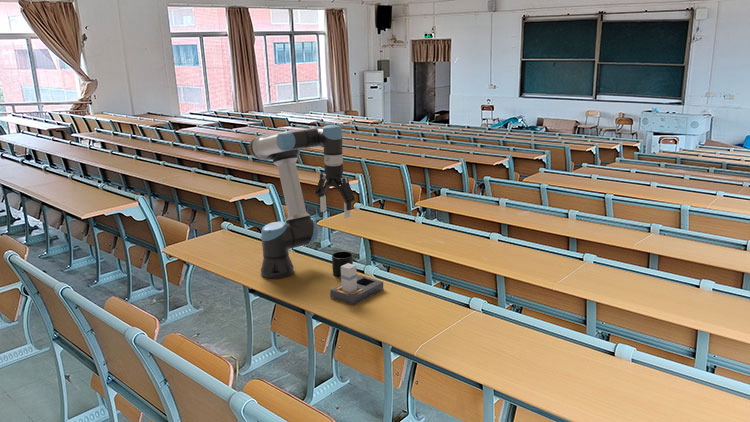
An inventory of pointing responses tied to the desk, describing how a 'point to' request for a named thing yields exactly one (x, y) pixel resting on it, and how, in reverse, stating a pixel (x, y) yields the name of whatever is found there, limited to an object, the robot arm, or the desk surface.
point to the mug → (340, 261)
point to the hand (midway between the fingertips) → (335, 214)
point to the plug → (349, 278)
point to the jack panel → (358, 290)
